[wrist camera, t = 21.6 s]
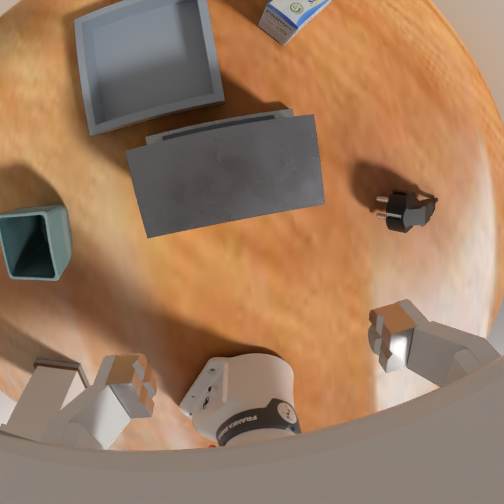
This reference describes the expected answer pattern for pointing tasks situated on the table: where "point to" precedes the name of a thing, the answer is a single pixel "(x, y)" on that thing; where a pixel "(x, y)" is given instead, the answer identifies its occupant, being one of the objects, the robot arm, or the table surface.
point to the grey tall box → (44, 398)
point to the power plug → (405, 210)
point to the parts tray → (146, 62)
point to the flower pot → (36, 242)
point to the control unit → (226, 171)
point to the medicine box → (289, 17)
